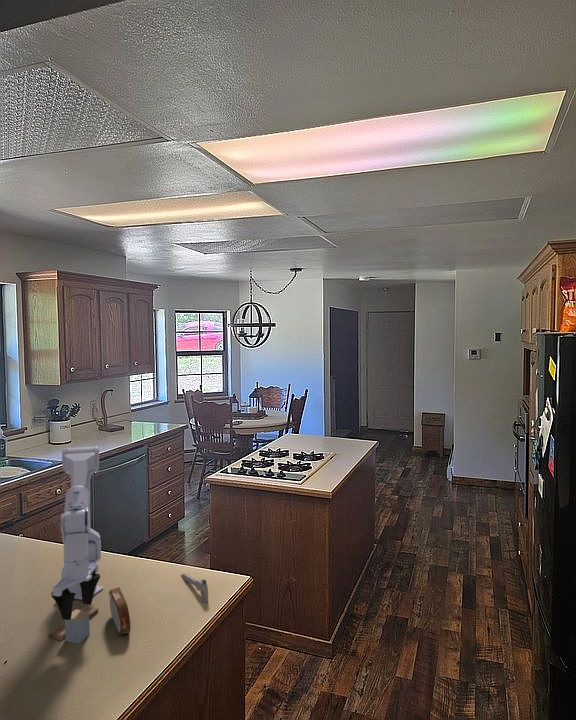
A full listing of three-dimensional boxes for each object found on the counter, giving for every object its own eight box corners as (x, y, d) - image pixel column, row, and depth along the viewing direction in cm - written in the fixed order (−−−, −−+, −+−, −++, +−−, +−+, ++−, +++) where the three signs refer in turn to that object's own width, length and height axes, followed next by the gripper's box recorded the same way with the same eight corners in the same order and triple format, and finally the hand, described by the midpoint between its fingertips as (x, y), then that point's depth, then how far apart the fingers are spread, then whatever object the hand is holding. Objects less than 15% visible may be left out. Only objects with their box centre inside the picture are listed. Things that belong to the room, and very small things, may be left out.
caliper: (208, 603, 148) (208, 581, 148) (204, 604, 148) (204, 582, 148) (183, 575, 166) (183, 556, 166) (180, 576, 165) (180, 557, 165)
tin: (131, 638, 131) (131, 605, 130) (118, 642, 129) (118, 608, 129) (119, 611, 144) (119, 581, 143) (107, 614, 142) (107, 584, 142)
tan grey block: (65, 641, 130) (64, 617, 129) (76, 632, 134) (75, 609, 133) (78, 643, 128) (78, 619, 128) (89, 634, 132) (89, 611, 132)
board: (49, 637, 131) (48, 633, 131) (85, 609, 144) (85, 606, 144) (62, 640, 130) (62, 635, 130) (98, 612, 143) (98, 608, 143)
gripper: (69, 572, 122) (70, 628, 123) (107, 548, 136) (108, 599, 136) (44, 568, 124) (45, 624, 125) (85, 545, 138) (86, 596, 138)
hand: (77, 611), depth 131 cm, fingers open, 7 cm apart
